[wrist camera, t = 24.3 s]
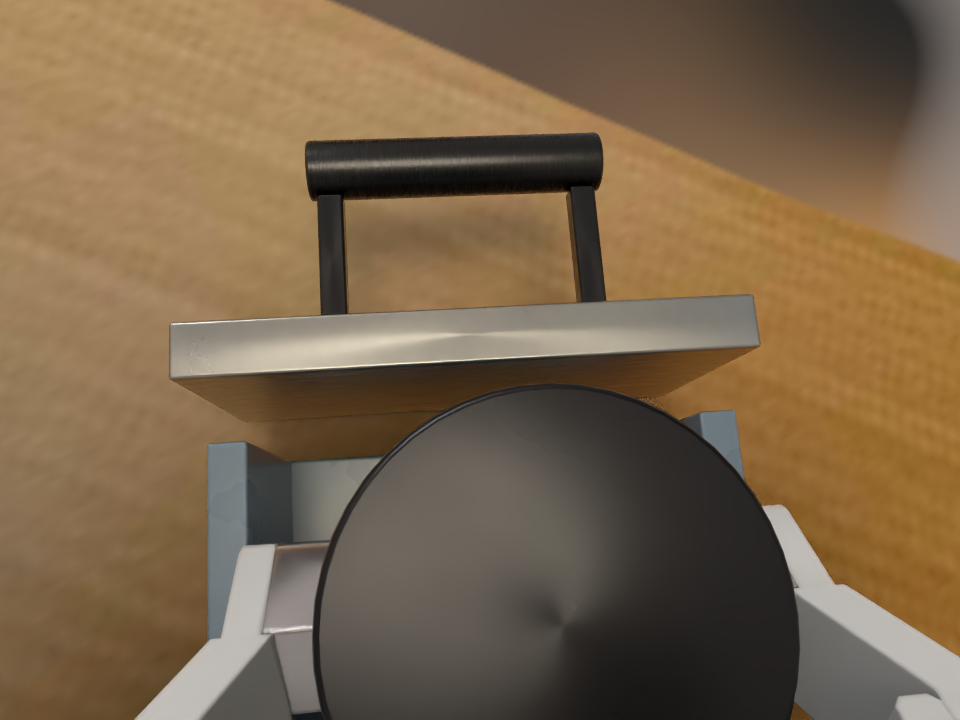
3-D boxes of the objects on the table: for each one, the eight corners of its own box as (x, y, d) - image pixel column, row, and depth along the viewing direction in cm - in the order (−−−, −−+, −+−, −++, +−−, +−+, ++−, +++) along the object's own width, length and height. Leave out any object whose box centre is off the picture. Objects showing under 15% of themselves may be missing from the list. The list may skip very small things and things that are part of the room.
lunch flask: (328, 650, 16) (224, 791, 8) (422, 414, 17) (423, 312, 9) (566, 743, 16) (723, 987, 8) (645, 500, 17) (856, 481, 9)
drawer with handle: (241, 228, 23) (170, 110, 16) (641, 212, 24) (725, 97, 18) (249, 901, 20) (161, 1098, 13) (718, 846, 21) (860, 1000, 14)
